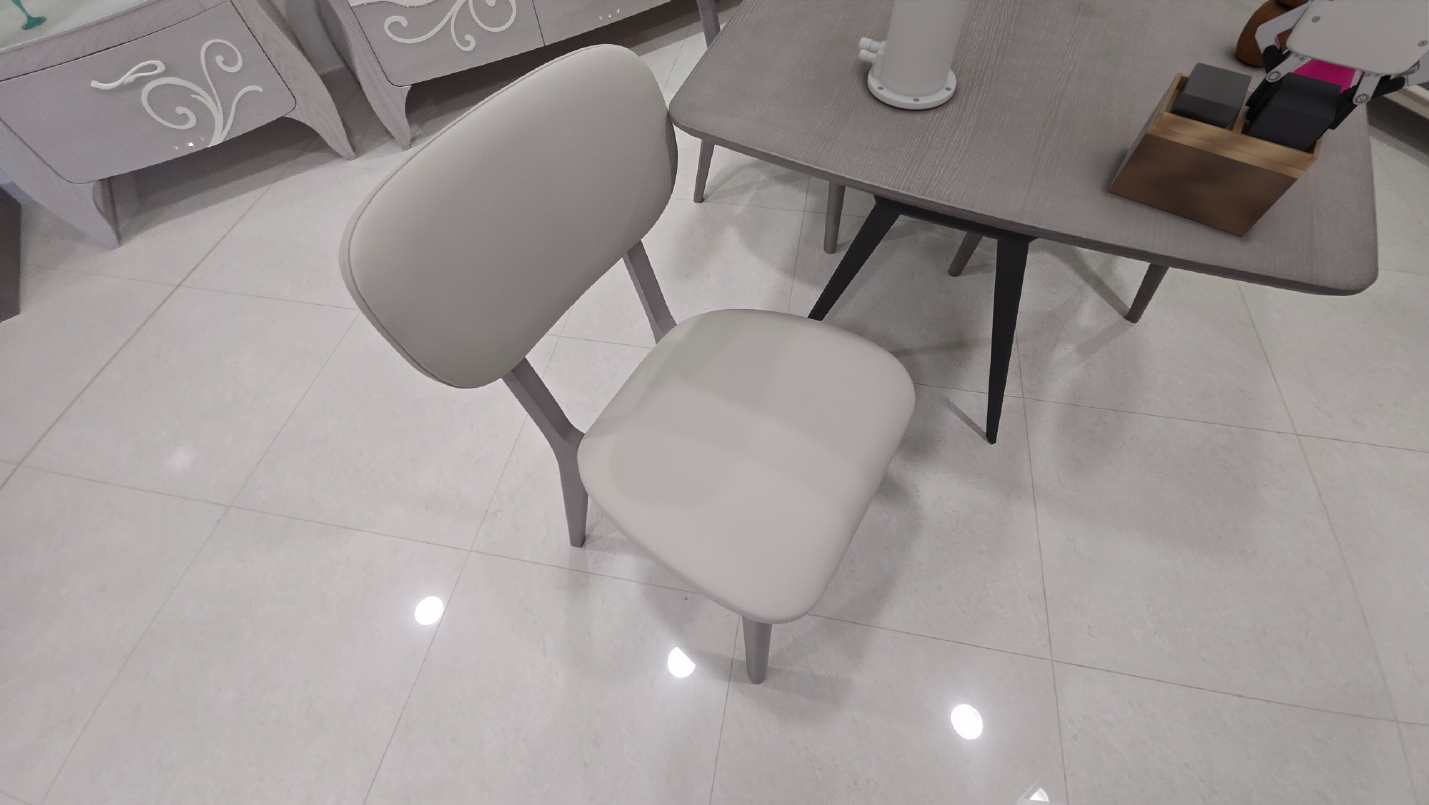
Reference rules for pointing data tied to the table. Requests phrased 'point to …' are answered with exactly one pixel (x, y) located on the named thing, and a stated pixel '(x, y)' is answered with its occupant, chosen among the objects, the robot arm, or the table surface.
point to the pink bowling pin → (1327, 72)
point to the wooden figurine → (1276, 6)
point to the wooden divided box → (1209, 155)
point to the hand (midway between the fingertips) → (1283, 121)
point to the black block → (1297, 112)
